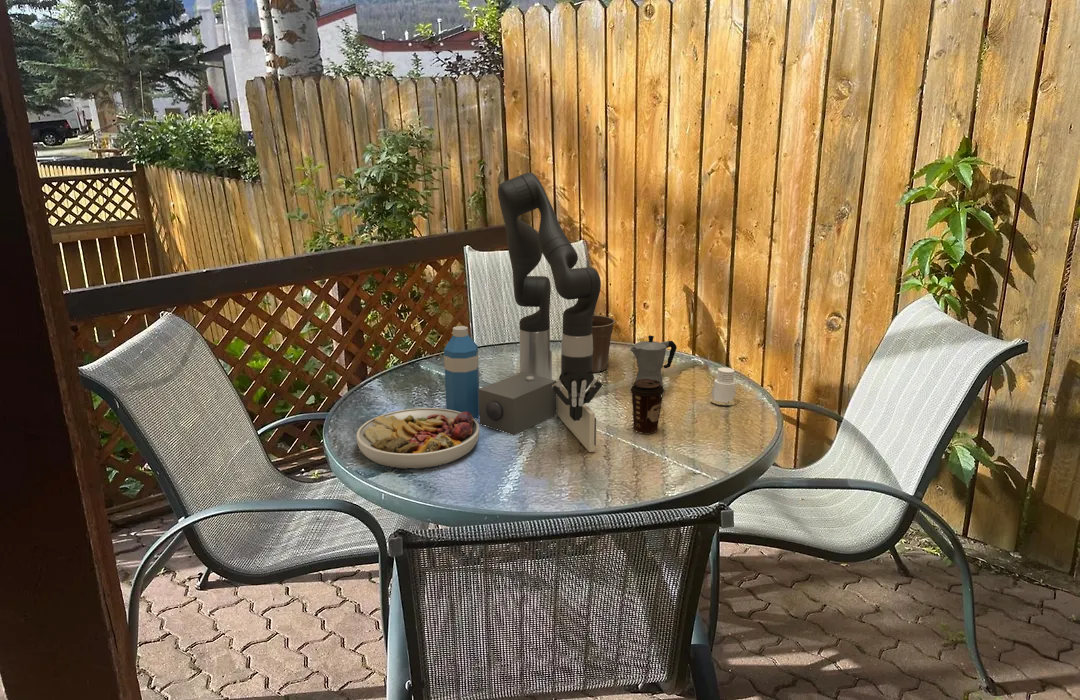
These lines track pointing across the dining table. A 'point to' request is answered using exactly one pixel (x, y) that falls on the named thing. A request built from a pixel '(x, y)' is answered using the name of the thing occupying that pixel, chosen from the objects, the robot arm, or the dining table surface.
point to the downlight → (724, 385)
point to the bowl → (418, 437)
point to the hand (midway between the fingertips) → (575, 419)
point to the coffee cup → (646, 405)
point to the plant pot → (601, 341)
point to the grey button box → (517, 403)
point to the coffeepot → (652, 358)
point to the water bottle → (462, 373)
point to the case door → (578, 422)
